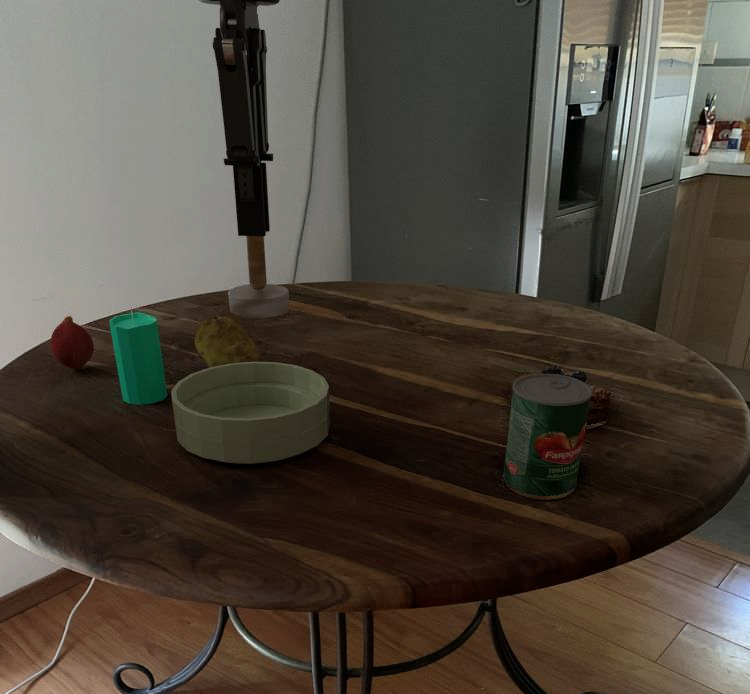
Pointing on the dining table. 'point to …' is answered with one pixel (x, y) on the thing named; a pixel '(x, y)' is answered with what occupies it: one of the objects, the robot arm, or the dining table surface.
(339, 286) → the dining table surface
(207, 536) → the dining table surface
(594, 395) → the pastry
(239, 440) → the bowl
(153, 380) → the candle
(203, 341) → the potato
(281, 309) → the paper towel holder
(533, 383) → the canned tomato
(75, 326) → the onion
